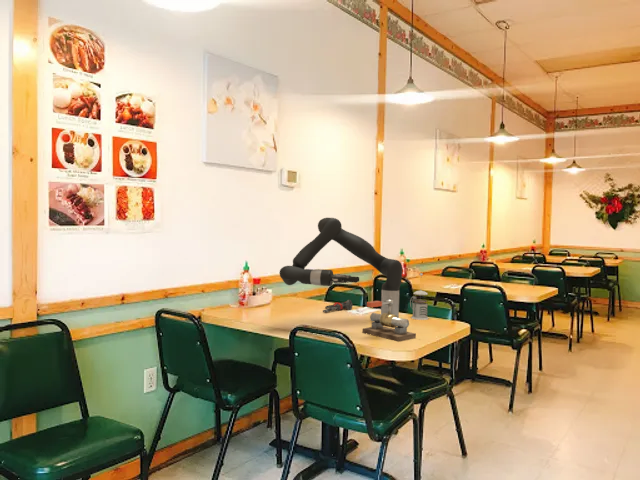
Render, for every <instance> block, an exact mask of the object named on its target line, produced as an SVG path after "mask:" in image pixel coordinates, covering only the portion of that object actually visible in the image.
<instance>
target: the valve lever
mask: <svg viewBox="0 0 640 480" xmlns="http://www.w3.org/2000/svg"><path fill="white" fill-rule="evenodd" d="M383 304H387V305H393V300H391V299H387V300H386V301H381V300H373V301H367V302H366V307H367V308H368V307H369V308H378V307H381V306H382V305H383Z"/></svg>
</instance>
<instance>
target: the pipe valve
mask: <svg viewBox="0 0 640 480" xmlns="http://www.w3.org/2000/svg"><path fill="white" fill-rule="evenodd" d="M369 320H370V321H371V326H370V327H371V329H376V330H377V329H382V328H383V326H384V327H388V328H393V329H395V334H398V335H402V334H407V332H408V327H409V326H410V321H409V320H408V319H407V318H402V317H399V318H398V317H397V315H393V314H391V305H388V313H383V314H381V313H375V312H371V314H370V315H369Z"/></svg>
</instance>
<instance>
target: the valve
mask: <svg viewBox="0 0 640 480" xmlns="http://www.w3.org/2000/svg"><path fill="white" fill-rule="evenodd" d="M343 309H346V310H347V311H351V310H353V302H352V300H351V299H347V300H346V301H344V302H339V301H338V302H334V303H333V304H329V305H326V306H325V309H324V310H322V312H323V313H329V312H331V311H334V310H335V311H341V310H343Z"/></svg>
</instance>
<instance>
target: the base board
mask: <svg viewBox="0 0 640 480" xmlns="http://www.w3.org/2000/svg"><path fill="white" fill-rule="evenodd" d="M371 327H372V326H370V327H364V328H361V329H362V334H366V333H367V335H370V334H371V335H370V336H374V337H375V336H376V337H379V338H383V339H388V340H391V341H396V342H403V341H408V340H413V339H416V338H417V334H416V333H415V332H411V331H407V334H402V335H398V334H395V328H392V327H387V326H383V328H382V329H377V330H376V329H371Z"/></svg>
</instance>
